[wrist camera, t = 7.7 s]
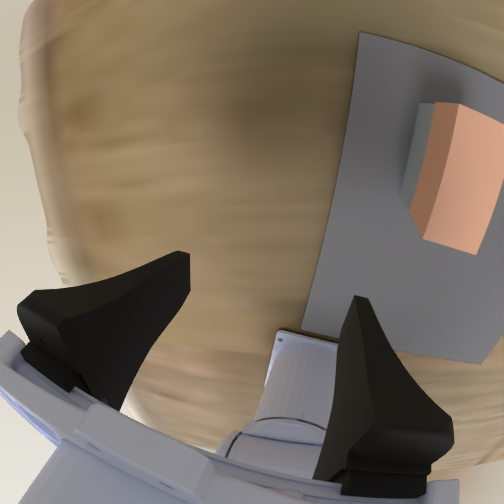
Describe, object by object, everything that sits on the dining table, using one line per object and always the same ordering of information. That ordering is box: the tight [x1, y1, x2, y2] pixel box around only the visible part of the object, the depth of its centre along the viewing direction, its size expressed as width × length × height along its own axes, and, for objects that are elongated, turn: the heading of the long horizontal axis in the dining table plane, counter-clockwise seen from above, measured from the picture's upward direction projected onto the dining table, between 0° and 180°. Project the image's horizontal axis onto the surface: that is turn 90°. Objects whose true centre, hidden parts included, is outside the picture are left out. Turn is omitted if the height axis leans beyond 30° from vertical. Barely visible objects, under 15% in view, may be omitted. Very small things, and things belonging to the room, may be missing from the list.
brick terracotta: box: [409, 102, 504, 255], centre depth 12 cm, size 6×3×4 cm, turn 174°
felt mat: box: [300, 32, 504, 365], centre depth 18 cm, size 24×20×1 cm
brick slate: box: [399, 103, 435, 213], centre depth 15 cm, size 6×3×4 cm, turn 174°
